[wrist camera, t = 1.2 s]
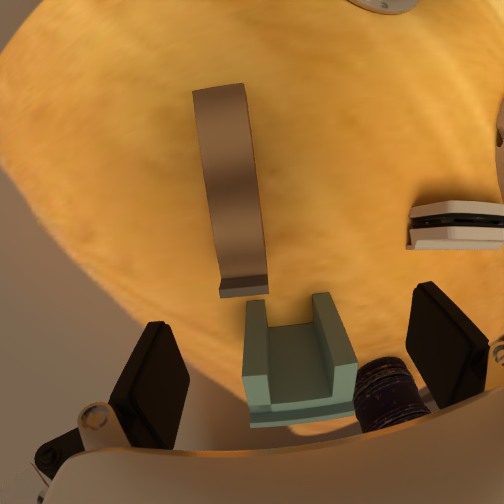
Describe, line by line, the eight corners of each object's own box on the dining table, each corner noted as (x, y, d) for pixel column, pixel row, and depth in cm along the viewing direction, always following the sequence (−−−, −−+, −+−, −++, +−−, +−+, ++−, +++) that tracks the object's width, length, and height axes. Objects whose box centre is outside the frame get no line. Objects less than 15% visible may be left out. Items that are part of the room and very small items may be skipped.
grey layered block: (403, 249, 30) (454, 251, 20) (402, 208, 30) (452, 196, 20) (493, 249, 30) (542, 251, 20) (492, 216, 30) (541, 210, 20)
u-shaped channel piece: (246, 301, 33) (241, 387, 21) (329, 292, 32) (362, 372, 20) (253, 341, 35) (250, 427, 23) (328, 333, 34) (353, 415, 22)
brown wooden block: (205, 101, 25) (186, 86, 18) (246, 95, 25) (241, 77, 17) (229, 260, 31) (220, 298, 24) (266, 256, 31) (268, 293, 23)
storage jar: (337, 378, 38) (360, 464, 24) (397, 345, 35) (440, 424, 21) (359, 407, 40) (380, 481, 26) (411, 379, 38) (445, 449, 24)
